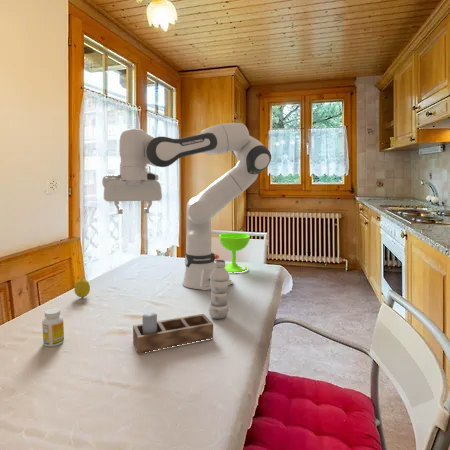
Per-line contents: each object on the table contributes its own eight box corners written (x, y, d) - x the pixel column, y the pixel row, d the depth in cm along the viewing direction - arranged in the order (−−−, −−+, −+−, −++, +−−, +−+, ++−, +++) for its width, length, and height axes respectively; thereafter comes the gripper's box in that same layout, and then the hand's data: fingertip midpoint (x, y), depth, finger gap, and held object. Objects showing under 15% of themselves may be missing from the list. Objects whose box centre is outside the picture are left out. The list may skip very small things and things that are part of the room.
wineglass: (218, 265, 184) (219, 232, 181) (248, 265, 184) (249, 233, 181) (217, 273, 168) (218, 238, 166) (249, 274, 168) (250, 238, 165)
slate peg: (153, 337, 100) (153, 311, 99) (159, 342, 97) (159, 316, 96) (140, 341, 98) (140, 314, 96) (146, 346, 94) (146, 319, 93)
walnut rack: (203, 328, 109) (203, 313, 108) (212, 339, 101) (213, 324, 101) (133, 341, 99) (132, 325, 99) (138, 354, 92) (138, 337, 92)
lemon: (84, 301, 129) (83, 281, 128) (71, 300, 130) (70, 280, 129) (93, 296, 134) (92, 276, 133) (80, 295, 135) (79, 275, 134)
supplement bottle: (40, 347, 95) (38, 315, 93) (47, 338, 100) (45, 307, 98) (61, 346, 96) (59, 314, 94) (66, 337, 101) (64, 306, 99)
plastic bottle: (208, 313, 120) (209, 258, 117) (227, 313, 121) (228, 258, 118) (209, 321, 114) (210, 263, 111) (229, 321, 114) (230, 263, 111)
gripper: (103, 174, 114) (104, 215, 116) (162, 175, 123) (162, 213, 125) (101, 174, 120) (102, 213, 122) (158, 175, 129) (158, 211, 131)
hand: (133, 213), depth 124 cm, fingers open, 8 cm apart
